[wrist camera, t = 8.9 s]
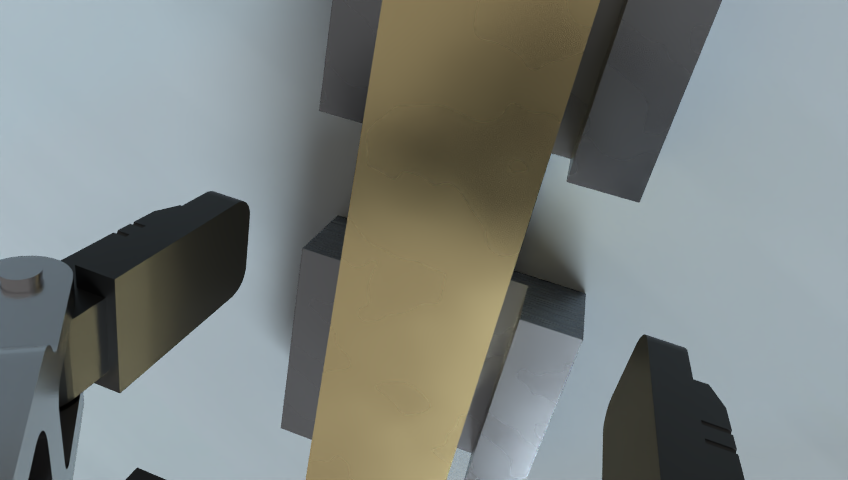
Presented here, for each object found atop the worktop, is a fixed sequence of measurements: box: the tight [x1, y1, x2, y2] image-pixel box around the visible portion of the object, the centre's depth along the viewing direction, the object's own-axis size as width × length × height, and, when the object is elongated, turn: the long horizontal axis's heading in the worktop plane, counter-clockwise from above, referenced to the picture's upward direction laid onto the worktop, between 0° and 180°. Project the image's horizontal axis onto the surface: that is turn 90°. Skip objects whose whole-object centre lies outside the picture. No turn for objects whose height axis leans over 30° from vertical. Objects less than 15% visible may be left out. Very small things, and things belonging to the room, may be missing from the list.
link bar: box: [306, 0, 600, 480], centre depth 14 cm, size 3×14×6 cm, turn 168°
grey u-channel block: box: [281, 0, 722, 480], centre depth 16 cm, size 8×18×2 cm, turn 168°
